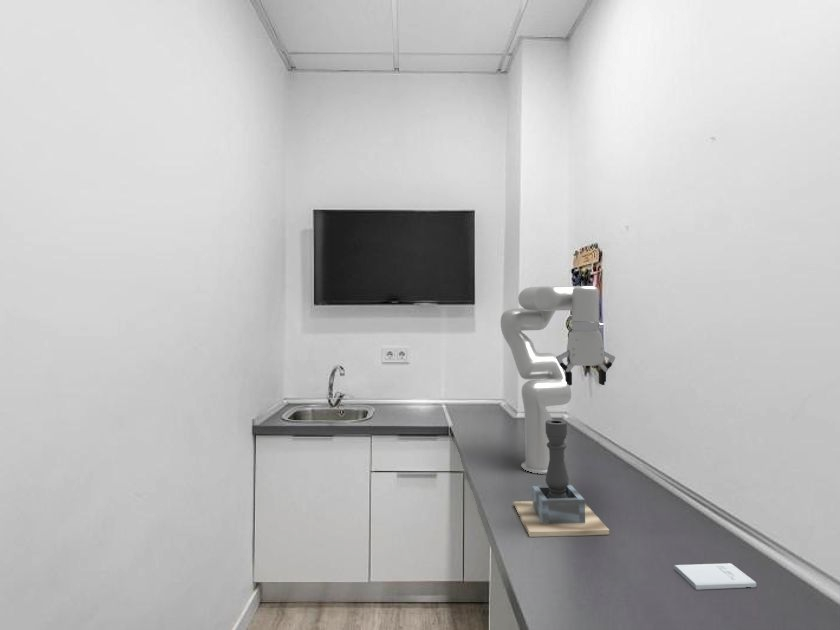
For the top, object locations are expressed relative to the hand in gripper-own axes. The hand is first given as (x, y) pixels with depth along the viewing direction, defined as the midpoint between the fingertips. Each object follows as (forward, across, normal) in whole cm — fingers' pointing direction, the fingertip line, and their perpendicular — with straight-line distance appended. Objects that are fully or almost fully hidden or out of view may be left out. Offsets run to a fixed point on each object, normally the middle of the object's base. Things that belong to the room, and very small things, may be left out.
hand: (585, 384), depth 151 cm
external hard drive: (+34, -12, +46) cm, 59 cm away
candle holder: (+33, +12, +16) cm, 38 cm away
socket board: (+34, +12, +16) cm, 39 cm away
